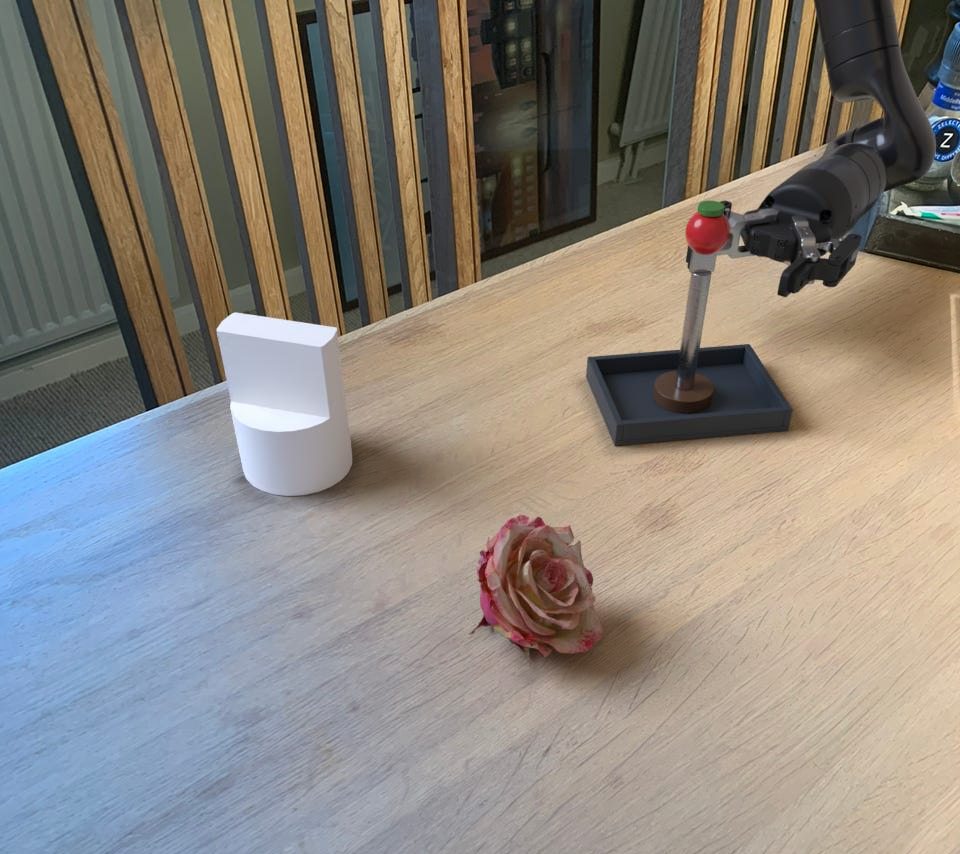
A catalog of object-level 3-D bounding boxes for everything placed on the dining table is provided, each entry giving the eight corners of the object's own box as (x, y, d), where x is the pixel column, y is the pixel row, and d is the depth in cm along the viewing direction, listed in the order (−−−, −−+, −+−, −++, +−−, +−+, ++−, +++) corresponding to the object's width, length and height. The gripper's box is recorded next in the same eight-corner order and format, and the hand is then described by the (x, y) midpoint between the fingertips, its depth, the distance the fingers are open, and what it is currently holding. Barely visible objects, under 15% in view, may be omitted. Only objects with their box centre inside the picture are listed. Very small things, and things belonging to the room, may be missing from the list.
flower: (422, 635, 68) (480, 591, 61) (467, 532, 72) (525, 480, 66) (540, 706, 70) (607, 671, 64) (575, 602, 75) (641, 559, 69)
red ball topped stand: (702, 379, 93) (733, 190, 81) (720, 410, 89) (755, 217, 77) (646, 384, 92) (669, 194, 80) (661, 416, 89) (688, 221, 77)
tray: (745, 364, 96) (749, 343, 94) (788, 430, 88) (793, 409, 86) (585, 377, 94) (587, 356, 93) (614, 446, 86) (616, 424, 85)
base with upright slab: (223, 485, 83) (193, 349, 74) (272, 425, 89) (249, 294, 80) (326, 504, 81) (307, 368, 72) (368, 442, 87) (355, 309, 78)
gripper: (752, 151, 97) (668, 208, 88) (899, 185, 91) (825, 250, 82) (738, 230, 102) (658, 291, 93) (877, 267, 96) (805, 336, 87)
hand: (736, 272), depth 88 cm, fingers open, 8 cm apart
